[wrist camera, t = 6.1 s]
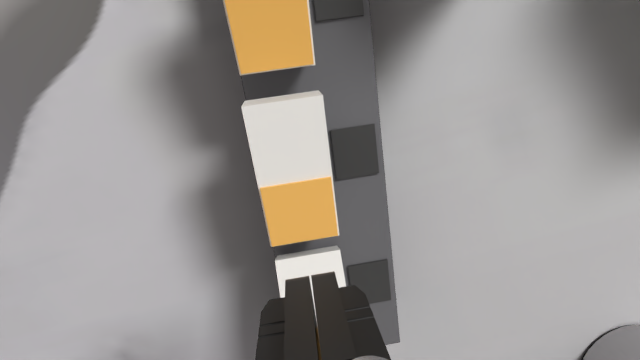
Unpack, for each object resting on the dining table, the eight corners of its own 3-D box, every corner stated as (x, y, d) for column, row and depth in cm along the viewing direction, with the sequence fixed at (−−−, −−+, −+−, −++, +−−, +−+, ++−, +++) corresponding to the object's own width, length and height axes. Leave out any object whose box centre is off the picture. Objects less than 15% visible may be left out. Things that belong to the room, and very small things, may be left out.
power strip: (344, -91, 22) (362, -148, 17) (385, 309, 30) (406, 355, 24) (219, -77, 21) (198, -132, 16) (293, 326, 29) (295, 377, 24)
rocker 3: (336, 245, 23) (340, 250, 21) (356, 367, 22) (362, 384, 20) (277, 255, 22) (274, 261, 20) (296, 379, 22) (295, 398, 20)
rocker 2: (318, 90, 19) (323, 95, 17) (334, 219, 22) (340, 236, 20) (244, 100, 18) (240, 107, 16) (271, 229, 21) (270, 248, 19)
